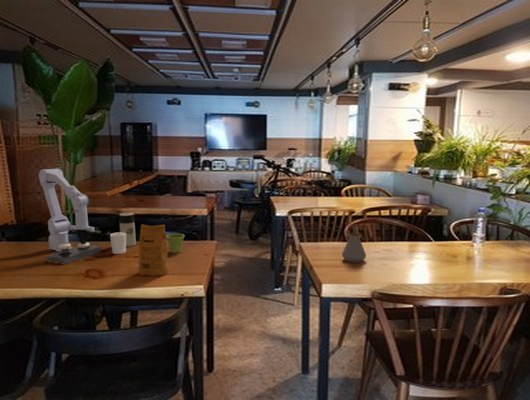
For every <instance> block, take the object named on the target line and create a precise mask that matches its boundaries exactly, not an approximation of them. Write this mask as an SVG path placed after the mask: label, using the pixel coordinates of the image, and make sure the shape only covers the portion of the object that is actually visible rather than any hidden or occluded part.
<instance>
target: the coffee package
mask: <svg viewBox="0 0 530 400" xmlns="http://www.w3.org/2000/svg"><path fill="white" fill-rule="evenodd" d="M139 232H140V233H139V243H138V267H139V276H151V277H159V276H164V275H165V274H166V273H167V272H168V270H169V263H168V262H169V261H168V239H167V237H166V236H167V233H166V225H165V224H159V225H147V224H141V225H140V231H139Z"/></svg>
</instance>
